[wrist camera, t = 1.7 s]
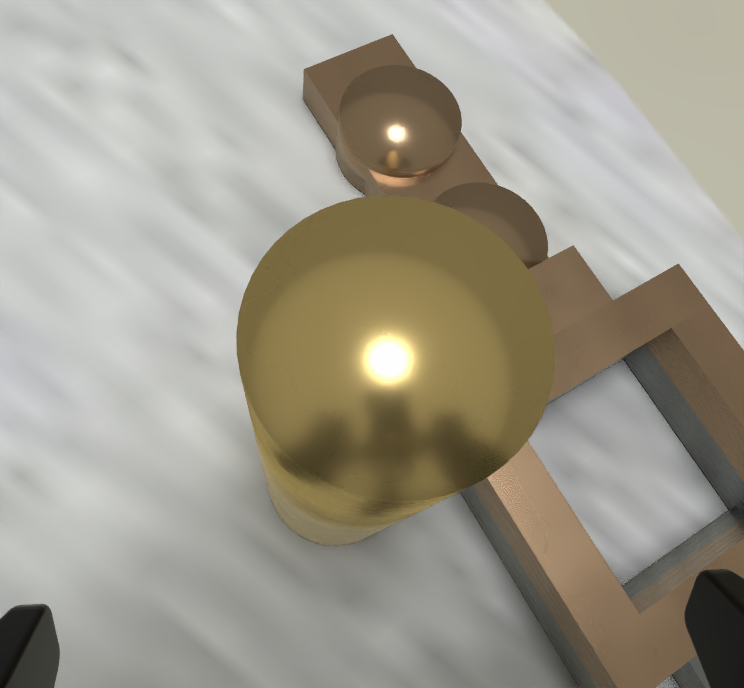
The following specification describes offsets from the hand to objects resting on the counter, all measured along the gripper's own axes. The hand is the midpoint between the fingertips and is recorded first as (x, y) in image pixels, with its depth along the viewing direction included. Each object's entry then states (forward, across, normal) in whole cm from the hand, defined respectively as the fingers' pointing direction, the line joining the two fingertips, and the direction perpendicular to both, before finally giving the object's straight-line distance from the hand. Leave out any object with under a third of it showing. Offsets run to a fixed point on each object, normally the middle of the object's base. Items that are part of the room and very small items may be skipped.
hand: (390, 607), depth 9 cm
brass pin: (+10, 0, +5) cm, 11 cm away
